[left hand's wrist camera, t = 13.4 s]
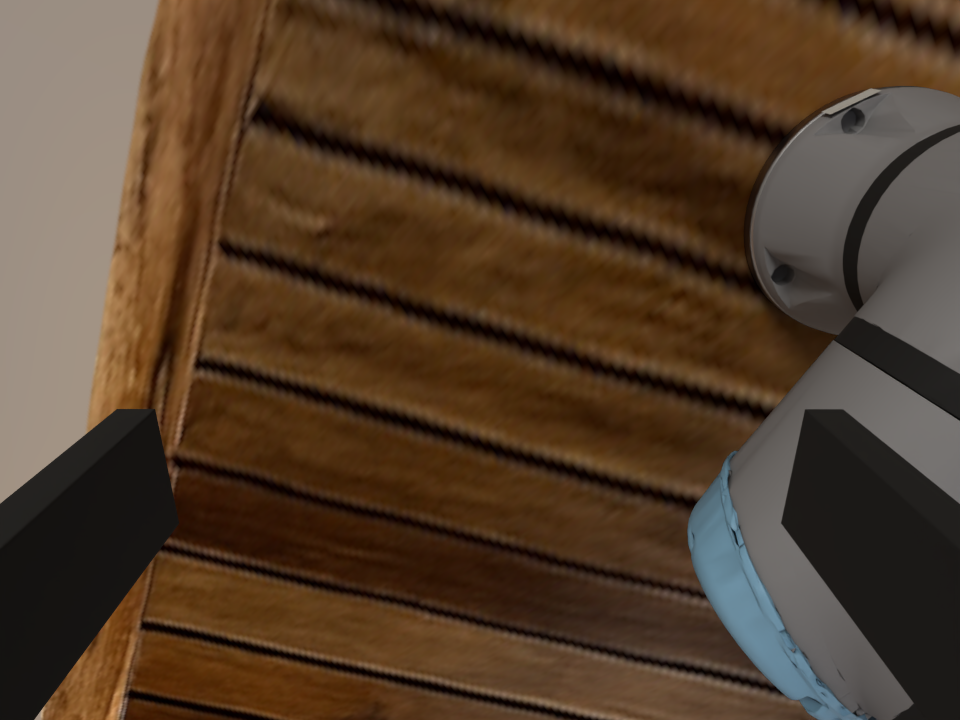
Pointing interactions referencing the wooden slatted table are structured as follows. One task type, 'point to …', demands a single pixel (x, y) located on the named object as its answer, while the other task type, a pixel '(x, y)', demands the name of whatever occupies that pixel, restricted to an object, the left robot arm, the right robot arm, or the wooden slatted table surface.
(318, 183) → the wooden slatted table surface
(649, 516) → the wooden slatted table surface
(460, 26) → the wooden slatted table surface
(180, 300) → the wooden slatted table surface
